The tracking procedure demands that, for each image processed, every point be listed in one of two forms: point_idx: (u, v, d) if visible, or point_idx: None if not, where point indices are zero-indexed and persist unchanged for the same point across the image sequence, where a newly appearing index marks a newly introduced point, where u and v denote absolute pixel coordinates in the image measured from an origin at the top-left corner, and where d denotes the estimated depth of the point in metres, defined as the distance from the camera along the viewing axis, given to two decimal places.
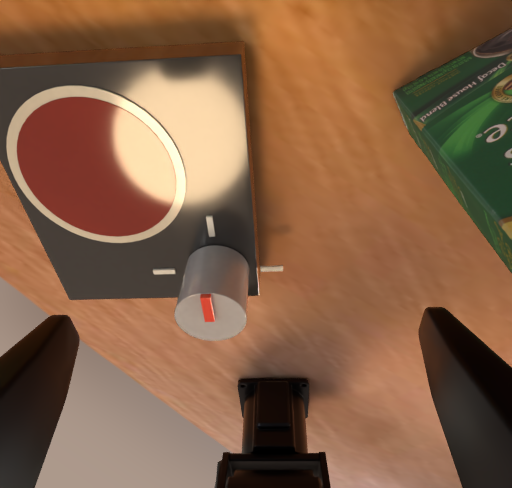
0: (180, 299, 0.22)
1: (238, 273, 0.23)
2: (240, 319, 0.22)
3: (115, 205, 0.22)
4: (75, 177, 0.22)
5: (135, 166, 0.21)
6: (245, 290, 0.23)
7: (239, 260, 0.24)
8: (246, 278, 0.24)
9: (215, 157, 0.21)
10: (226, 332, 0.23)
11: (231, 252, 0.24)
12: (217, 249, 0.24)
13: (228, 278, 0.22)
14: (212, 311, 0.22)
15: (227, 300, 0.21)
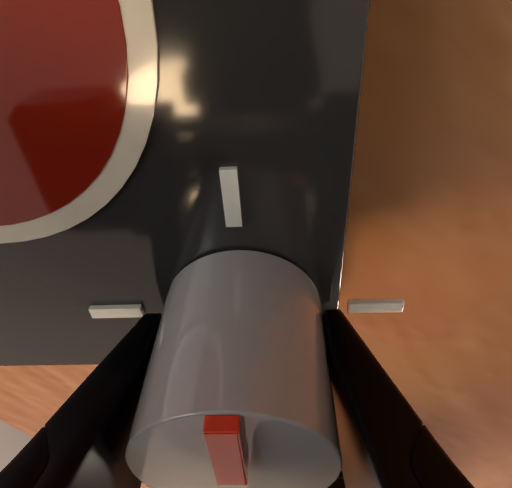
0: (140, 421, 0.07)
1: (309, 328, 0.08)
2: (322, 472, 0.07)
3: None
4: None
5: None
6: (329, 377, 0.08)
7: (304, 289, 0.09)
8: (324, 337, 0.09)
9: None
10: None
11: (283, 268, 0.09)
12: (246, 261, 0.09)
13: (288, 350, 0.07)
14: (242, 463, 0.07)
15: (293, 430, 0.07)
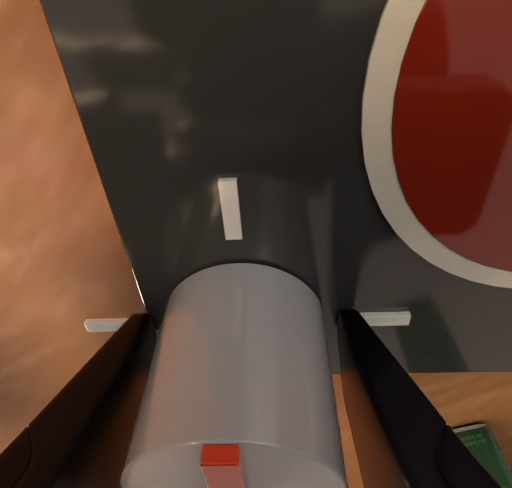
0: (135, 449, 0.07)
1: (312, 346, 0.08)
2: None
3: None
4: None
5: None
6: (333, 397, 0.08)
7: (307, 303, 0.09)
8: (328, 354, 0.09)
9: None
10: None
11: (284, 282, 0.09)
12: (246, 275, 0.09)
13: (290, 372, 0.07)
14: None
15: (295, 459, 0.06)
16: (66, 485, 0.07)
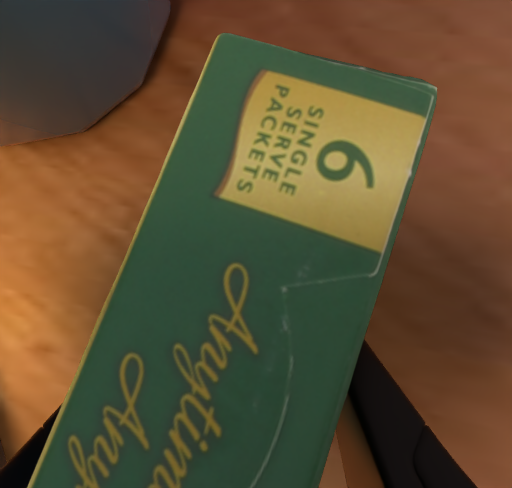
0: None
1: None
2: None
3: None
4: None
5: None
6: None
7: None
8: None
9: None
10: None
11: None
12: None
13: None
14: None
15: None
16: None
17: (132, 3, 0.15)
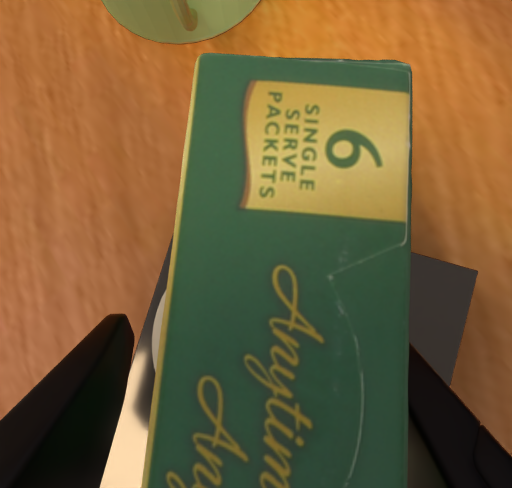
0: None
1: None
2: None
3: None
4: None
5: None
6: None
7: None
8: None
9: None
10: None
11: None
12: None
13: None
14: None
15: None
16: (30, 485, 0.07)
17: None
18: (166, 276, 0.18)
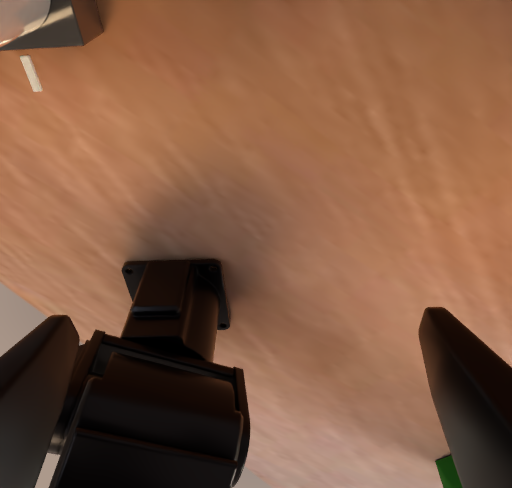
0: None
1: None
2: None
3: None
4: None
5: None
6: None
7: None
8: None
9: None
10: None
11: None
12: None
13: None
14: None
15: None
16: None
17: None
18: None
